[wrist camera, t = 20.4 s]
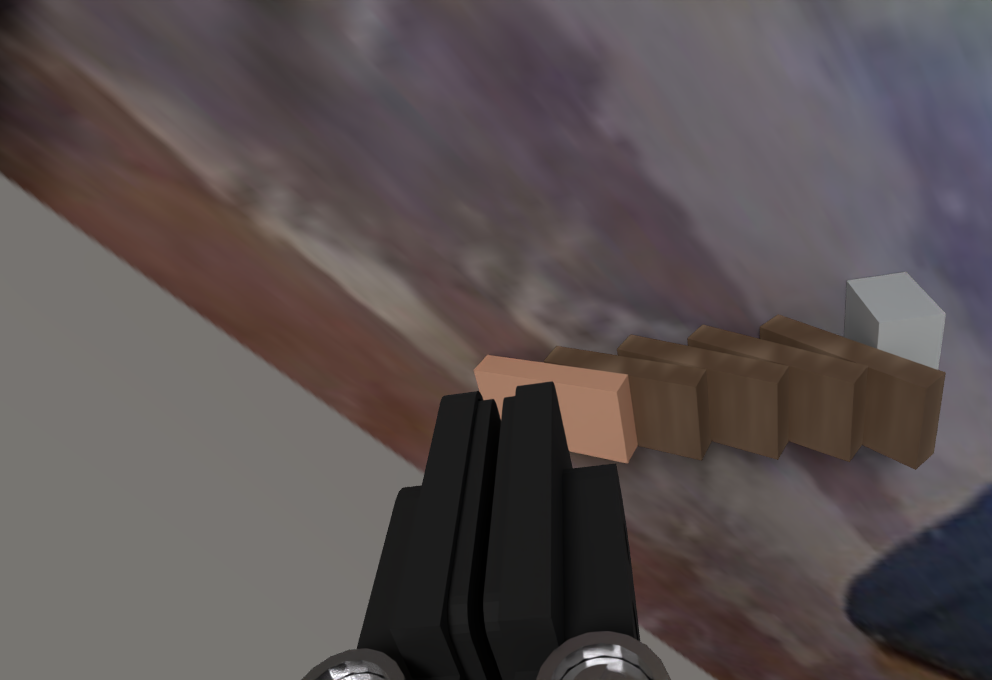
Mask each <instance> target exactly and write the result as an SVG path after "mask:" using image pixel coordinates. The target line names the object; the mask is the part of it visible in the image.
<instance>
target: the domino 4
mask: <svg viewBox="0 0 992 680" xmlns="http://www.w3.org/2000/svg"><path fill="white" fill-rule="evenodd" d="M687 340H688V346H691V347H696V348H701V349H706V350H711V351H716V352H721V353H726V354H731V355H736V356H741V357H746V358H751V359H756V360H761V361H766V362H771V363H776V364H781V365H786V366H789V439H788V441H790V442H793V443H796V444H799V445H801V446H804V447H807V448H810V449H813V450H816V451H819V452H822V453H825V454H828V455H830V456H833V457H836V458H839V459H842V460H845V461H848V462H850V461H851V459H852V458H853V457H854V455H855V454H856V452H857V451H858V450H859V448H860V447H861V446H862V444H863V430H864V416H865V401H866V387H867V372H868V366H866V365H862V364H858V363H854V362H850V361H846V360H842V359H838V358H834V357H830V356H826V355H822V354H818V353H814V352H810V351H806V350H802V349H798V348H794V347H790V346H786V345H782V344H778V343H774V342H770V341H766V340H762V339H758V338H754V337H750V336H746V335H742V334H738V333H734V332H730V331H726V330H722V329H718V328H714V327H710V326H706V325H702V326H701V327H699V328H698V329H697V330H696V331H695V332H694V333H693V334H692V335H691V336H689V337H688V338H687Z"/></svg>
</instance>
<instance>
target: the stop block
mask: <svg viewBox="0 0 992 680" xmlns="http://www.w3.org/2000/svg"><path fill="white" fill-rule="evenodd" d="M945 316H946V314H945V313H944V312H943V310H942V309H941V308H940V307H939V306H938V305H937V304H936V303H935V302H934V301H933V300H932V299H931V298H930V297H929V296H928V295H927V294H926V292H925V291H924V290H923V289H922V288H921V287H920V286H919V285H918V284H917V283H916V282H915V281H914V280H913V279H912V278H911V277H910V276H909V274H908V273H907V272H902V273H895V274H888V275H882V276H875V277H868V278H861V279H855V280H848V281H847V287H846V306H845V326H844V337H845V338H848V339H850V340H853V341H856V342H859V343H862V344H865V345H868V346H871V347H874V348H876V349H879V350H882V351H885V352H888V353H891V354H894V355H897V356H899V357H902V358H905V359H908V360H911V361H914V362H917V363H920V364H923V365H925V366H928V367H931V368H934V369H937V370H938V367H939V360H940V352H941V345H942V338H943V330H944V323H945Z"/></svg>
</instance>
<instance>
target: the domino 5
mask: <svg viewBox="0 0 992 680" xmlns="http://www.w3.org/2000/svg"><path fill="white" fill-rule="evenodd" d="M760 339H762V340H766V341H770V342H774V343H778V344H782V345H786V346H790V347H794V348H798V349H802V350H806V351H810V352H814V353H818V354H822V355H826V356H830V357H834V358H838V359H842V360H846V361H850V362H854V363H858V364H862V365H866V366H868V372H867V387H866V401H865V416H864V430H863V444H862V445H863V446H866V447H868V448H870V449H872V450H874V451H876V452H879V453H881V454H883V455H885V456H887V457H889V458H892V459H894V460H896V461H898V462H900V463H902V464H905V465H907V466H909V467H911V468H913V469H915V470H916V469H917V468H918V467H919V466H920V465H921V464H922V463H924V462H925V461H926V460H927V459H928V458H929V457H930V456H931V455H932V454H933V453H934V448H935V441H936V435H937V428H938V421H939V414H940V407H941V401H942V394H943V387H944V380H945V374H946V372H943V371H940V370H937V369H934V368H931V367H928V366H925V365H923V364H920V363H917V362H914V361H911V360H908V359H905V358H902V357H899V356H897V355H894V354H891V353H888V352H885V351H882V350H879V349H876V348H874V347H871V346H868V345H865V344H862V343H859V342H856V341H853V340H850V339H848V338H845V337H842V336H839V335H836V334H833V333H830V332H827V331H825V330H822V329H819V328H816V327H813V326H810V325H807V324H804V323H801V322H799V321H796V320H793V319H790V318H787V317H784V316H781V315H777V316H775V317H774V318H772V319H771V320H769V321H768V322H766V323H765V324H763V325H762V326H760Z"/></svg>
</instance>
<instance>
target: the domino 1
mask: <svg viewBox="0 0 992 680" xmlns="http://www.w3.org/2000/svg"><path fill="white" fill-rule="evenodd" d="M474 372H475V376H476V380H477V383H478V387H479V390H480V393H481V395H482V397H483V400H489V399H494V400H495V402H496V404H497V407H498V411H499V415H500V418H501V417H502V407H503V399H504V398H505V397H511V396H515V392H516V387H517V386H521V385H528V384H535V383H543V382H550V381H553V382H554V385H555V388H556V393H557V397H558V402H559V407H560V411H561V416H562V421H563V426H564V430H565V435H566V440H567V445H568V449H569V451H571V452H576V453H580V454H585V455H590V456H595V457H599V458H604V459H609V460H614V461H618V462H623V463H628V462H629V460H630V458H631V457H632V455H633V453H634V451H635V449H636V447H637V446H638V443H637V436H636V429H635V422H634V415H633V407H632V400H631V393H630V386H629V379H628V374H620V373H613V372H606V371H599V370H592V369H585V368H577V367H570V366H563V365H556V364H549V363H542V362H534V361H527V360H520V359H513V358H506V357H499V356H491V355H487V356H486V357H485V358H484V359H483V360H482V361H481V363H480V364H479V365H478V366H477V367H476V368H475V369H474Z"/></svg>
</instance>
